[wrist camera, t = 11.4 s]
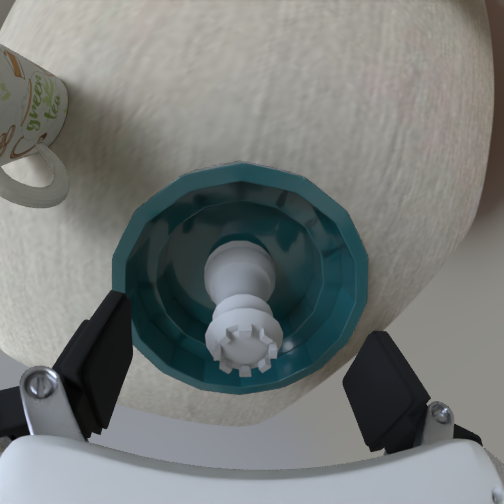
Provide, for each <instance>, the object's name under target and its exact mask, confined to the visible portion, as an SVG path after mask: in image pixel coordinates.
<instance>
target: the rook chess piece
mask: <svg viewBox="0 0 504 504" xmlns="http://www.w3.org/2000/svg"><path fill="white" fill-rule="evenodd" d="M204 270H205V274H204V279H205V288H206V290H207V292H208V294H209V296H210V298H211V300H212V301H213V302H214V303H215V304H216V305H217V306H216V309H215V311H214V313H213V316H212V317H213V321H212V322H211V323H210V325H209V327H208V329H207V332H206V334H205V339H206V347H207V348H208V350H209V351H210V353H211V354H212V356H213V357H214V361H216V360H219V361H220V368H219V369H221V370H222V371H224V372H226V373H227V374H229V373H230V372H231V371H232V368H235V369H239V375H240V377H251V369H253V368H256V367H259V370H260V371H261V372H262V373H263V372H265V371H266V370H268V369H269V368H271V362H270V359H271V358H273V359H277V352H278V350H279V349H280V347H281V345H282V340H283V332H282V329H281V327H280V325H279V323H278V321H277V320H275V319H274V318H273V313H272V311H271V309H270V307H269V305H268V304H267V303H266V302H267V301H268V300H269V298H270V296H271V294H272V292H273V290H274V288H275V280H276V273H275V266H274V264H273V261H272V259H271V256H270V255H269V254H268V253H267V252H266V251H265V250H264V249H263V248H262V247H261V246H259V245H257V244H254V243H251V242H249V241H231V242H228V243H226V244H224V245H221V246H219V247H218V248H217V249H216V250H215V251H214V252H213V253H212V254H211V255H210V256H209V258H208V260H207V263H206V265H205V268H204Z"/></svg>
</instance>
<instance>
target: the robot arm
mask: <svg viewBox="0 0 504 504" xmlns="http://www.w3.org/2000/svg"><path fill="white" fill-rule="evenodd" d="M132 357H133V343H132V320H131V299H130V298H127V295H126V293H122V292H118V291H114V290H111V291H110V292H109V293H108V295H107V296H106V297H105V299H104V300H103V302H102V303H101V304H100V306H99V307H98V309H97V310H96V311H95V313H94V314H93V316H92V317H91V319H90V320H87V319H86V320H84V321H83V322H82V323H81V325H80V326H79V328H78V329H77V331H76V332H75V333H74V335H73V336H72V338H71V339H70V341H69V342H68V344H67V345H66V347H65V348H64V350H63V352H62V353H61V355H60V356H59V358H58V359H57V361H56V363H55V364H54V366H53V367H52V369H51V368H49V367H46V366H35V367H31V368H29V369H28V370H26V371H25V372H24V373H23V375H22V376H21V379H20V386H17V387H13V388H9V389H4V390H0V504H504V464H503V463H502V462H501V461H499V460H498V459H497V458H496V457H494V456H493V455H492V454H491V453H490V452H489V451H487V450H486V449H485V448H483V445H482V442H481V438H480V437H479V436H478V435H476V434H474V433H473V432H470V431H468V430H466V429H464V428H462V427H460V426H458V425H456V424H454V415H453V412H452V411H451V409H450V408H449V407H448V406H447V405H445V404H444V403H442V402H437V401H435V402H432V403H431V404H430V405H429V406H427V404H426V403H427V402H428V401H429V400H430V399H431V398H430V396H429V394H428V393H427V391H426V390H425V388H424V387H423V385H422V383H421V382H420V380H419V379H418V377H417V375H416V374H415V372H414V371H413V369H412V368H411V367H410V365H409V364H408V362H407V360H406V359H405V357H404V356H403V354H402V353H401V351H400V350H399V348H398V347H397V346H396V344H395V343H394V341H393V340H392V338H391V337H390V336H389V334H388V333H387V332H386V331H373V332H372V333H371V334H369V335H368V336H367V338H366V340H365V342H364V344H363V345H362V347H361V349H360V351H359V353H358V354H357V356H356V358H355V360H354V361H353V363H352V365H351V366H350V368H349V370H348V371H347V373H346V375H345V376H344V378H343V387H344V389H345V392H346V395H347V397H348V400H349V402H350V405H351V407H352V410H353V412H354V415H355V418H356V420H357V423H358V426H359V428H360V431H361V433H362V436H363V439H364V442H365V444H366V445H367V446H369V449H370V451H371V452H374V451H378V450H381V449H383V448H385V452H384V455H383V456H381V457H377V458H372V459H367V460H362V461H357V462H351V463H346V464H339V465H332V466H324V467H316V468H315V467H314V468H303V469H287V470H240V469H239V470H238V469H223V468H211V467H202V466H193V465H187V464H180V463H175V462H169V461H163V460H157V459H153V458H148V457H143V456H139V455H135V454H131V453H127V452H123V451H120V450H116V449H112V448H108V447H104V446H101V445H97V444H93V443H89V441H88V439H87V438H90V437H91V433H92V432H93V433H96V434H99V435H100V434H101V431H102V428H104V429H107V427H108V425H109V422H110V419H111V416H112V413H113V410H114V407H115V404H116V402H117V399H118V396H119V393H120V390H121V388H122V385H123V382H124V379H125V377H126V374H127V371H128V369H129V366H130V364H131V361H132Z"/></svg>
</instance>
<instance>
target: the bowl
mask: <svg viewBox="0 0 504 504" xmlns="http://www.w3.org/2000/svg"><path fill="white" fill-rule="evenodd" d="M231 241H249V242H251V243H254V244H257V245H259V246H261V247H262V248H263V249H264V250H265V251H266V252H267V253H268V254H269V255H270V256H271V259H272V261H273V264H274V266H275V273H276V280H275V288H274V290H273V292H272V294H271V296H270V298H269V300H268V301H267V302H266V303H267V304H268V305H269V307H270V309H271V311H272V313H273V318H274V319H275V320H277V321H278V323H279V325H280V327H281V329H282V332H283V340H282V345H281V347H280V349H279V350H278V352H277V359H273V358H271V359H270V362H271V368H269V369H268V370H266V371H265V372H263V373H262V372H261V371H260V370H259V367H256V368H253V369H251V377H240V375H239V369H235V368H232V371H231V372H230V373H229V374H227V373H226V372H224V371H222V370H221V369H219V368H220V361H219V360H216V361H214V357H213V356H212V354H211V353H210V351H209V350H208V348H207V347H206V339H205V334H206V332H207V329H208V327H209V325H210V323H211V322H212V321H213V317H212V316H213V313H214V311H215V309H216V306H217V305H216V304H215V303H214V302H213V301H212V300H211V298H210V296H209V294H208V292H207V290H206V288H205V279H204V274H205V270H204V268H205V265H206V263H207V260H208V258H209V256H210V255H211V254H212V253H213V252H214V251H215V250H216V249H217V248H218V247H219V246H221V245H224V244H226V243H228V242H231ZM112 290H114V291H118V292H122V293H126V295H127V298H130V299H131V320H132V343H133V345H134V346H135V347H136V348H137V349H138V350H139V351H140V352H141V353H142V354H143V355H144V356H145V357H146V358H147V359H148V360H149V361H150V362H151V363H152V364H153V365H155V366H156V367H157V368H158V369H159V370H160V371H162V372H163V373H165V374H167V375H169V376H171V377H173V378H175V379H177V380H180V381H182V382H184V383H186V384H188V385H191V386H193V387H195V388H198V389H200V390H205V391H212V392H220V393H228V394H237V395H241V394H250V393H256V392H262V391H268V390H274V389H279V388H282V387H286V386H288V385H290V384H292V383H294V382H296V381H298V380H300V379H302V378H304V377H306V376H308V375H310V374H312V373H314V372H316V371H318V370H319V369H321V368H322V367H323V366H324V365H325V364H326V363H327V362H329V361H330V360H331V359H332V358H333V357H334V356H335V355H336V354H337V353H338V352H339V351H340V350H341V349H342V348H343V347H344V346H345V345H346V344H347V343H348V342H349V340H350V338H351V336H352V334H353V332H354V330H355V328H356V326H357V324H358V321H359V319H360V317H361V315H362V313H363V310H364V308H365V306H366V304H367V297H368V255H367V253H366V250H365V248H364V246H363V243H362V241H361V239H360V237H359V235H358V232H357V230H356V228H355V226H354V224H353V222H352V219H351V217H350V215H349V214H348V212H347V211H346V210H345V209H344V208H343V207H341V206H340V205H339V204H338V203H337V202H335V201H334V200H333V199H332V198H331V197H329V196H328V195H327V194H326V193H324V192H323V191H322V190H321V189H319V188H318V187H317V186H316V185H314V184H313V183H312V182H311V181H309V180H308V179H307V178H305V177H303V176H300V175H297V174H294V173H291V172H289V171H286V170H282V169H278V168H273V167H269V166H265V165H260V164H256V163H251V162H247V161H234V162H229V163H224V164H219V165H214V166H209V167H204V168H200V169H195V170H193V171H191V172H189V173H186V174H184V175H182V176H180V177H178V178H177V179H176V180H174V181H173V182H172V183H170V184H169V185H168V186H166V187H165V188H164V189H162V190H161V191H160V192H158V193H157V194H156V195H154V196H153V197H152V198H150V199H149V200H148V201H147V202H145V203H144V204H143V205H142V206H140V207H139V208H138V209H137V210H136V211H135V212H134V214H133V215H132V217H131V219H130V221H129V223H128V225H127V227H126V229H125V231H124V233H123V235H122V237H121V239H120V242H119V244H118V246H117V248H116V250H115V252H114V254H113V258H112Z"/></svg>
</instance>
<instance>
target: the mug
mask: <svg viewBox="0 0 504 504" xmlns="http://www.w3.org/2000/svg"><path fill="white" fill-rule="evenodd" d="M67 108H68V94H67V90H66V87H65V85H64V83H63V82H62V81H61V80H60V79H59V78H58V77H56V76H55V75H53V74H52V73H50V72H48V71H47V70H45V69H43V68H42V67H40V66H38V65H37V64H35V63H33V62H31V61H30V60H28V59H26V58H25V57H23V56H21V55H19V54H18V53H16V52H14V51H12V50H10V49H9V48H7V47H5V46H3V45H1V44H0V196H1V197H2V198H4V199H6V200H8V201H10V202H13V203H16V204H19V205H22V206H26V207H32V208H49V207H53V206H56V205H58V204H60V203H61V202H62V201H63V200H64V199H65V198H66V197H67V194H68V192H69V179H68V175H67V171H66V168H65V166H64V164H63V162H62V161H61V160H60V159H59V158H58V157H57V156H56V155H55V154H54V153H53V152H52V151H51V150H50V149H49V148H48V146H49V145H50V144H51V143H52V142H53V141H54V140H55V138H56V137H57V135H58V134H59V132H60V130H61V128H62V126H63V123H64V121H65V117H66V114H67ZM38 152H39V153H40V154H41V156H42V157H43V158H44V160H45V161H46V162H47V164H48V165H49V166H50V168H51V170H52V172H53V174H54V180H53V182H52V184H51V185H49V186H47V187H44V188H37V187H32V186H28V185H25V184H22V183H20V182H18V181H16V180H14V179H12V178H11V177H9V176H8V175H7V174H6V173H5V172H4V170H3V169H2V168H1V166H2V165H4V164H7V163H10V162H12V161H15V160H18V159H21V158H23V157H26V156H29V155H32V154H35V153H38Z"/></svg>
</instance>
